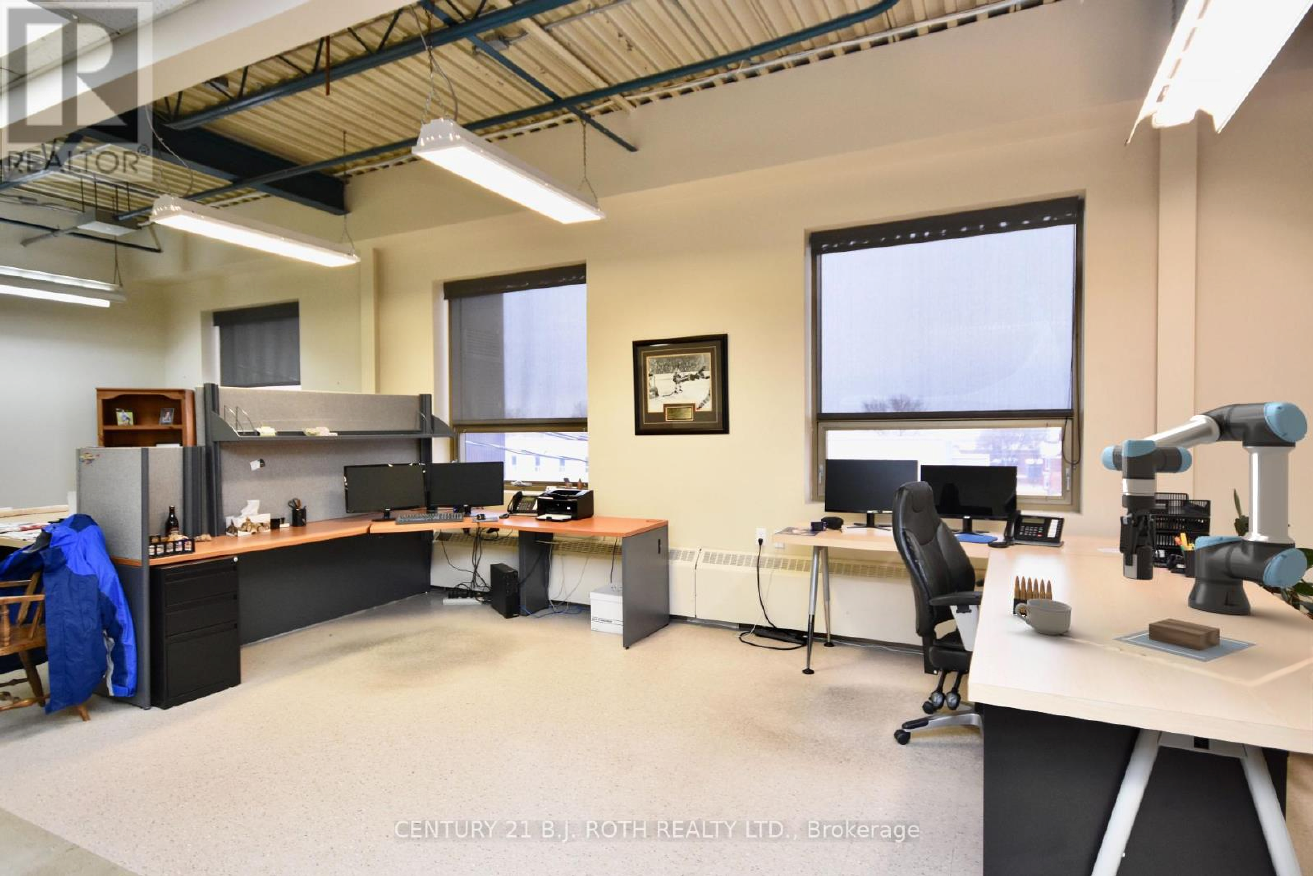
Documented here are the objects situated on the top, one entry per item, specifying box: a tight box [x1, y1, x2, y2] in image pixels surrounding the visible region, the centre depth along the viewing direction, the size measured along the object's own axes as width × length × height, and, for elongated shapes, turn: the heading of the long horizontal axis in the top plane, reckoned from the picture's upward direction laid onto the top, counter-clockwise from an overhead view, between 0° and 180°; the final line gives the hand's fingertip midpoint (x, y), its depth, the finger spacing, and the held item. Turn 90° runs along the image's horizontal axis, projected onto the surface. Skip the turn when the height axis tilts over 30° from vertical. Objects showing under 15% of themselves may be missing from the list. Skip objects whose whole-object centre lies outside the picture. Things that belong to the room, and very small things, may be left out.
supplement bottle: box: [1122, 535, 1154, 581], centre depth 184 cm, size 7×7×12 cm
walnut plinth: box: [1148, 618, 1221, 651], centre depth 170 cm, size 11×11×4 cm
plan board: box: [1112, 629, 1257, 663], centre depth 170 cm, size 28×20×1 cm
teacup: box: [1015, 599, 1073, 636], centre depth 183 cm, size 14×11×8 cm
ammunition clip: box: [1012, 575, 1053, 616], centre depth 197 cm, size 11×2×12 cm, turn 41°
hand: (1138, 576), depth 184 cm, fingers closed on supplement bottle, 7 cm apart
